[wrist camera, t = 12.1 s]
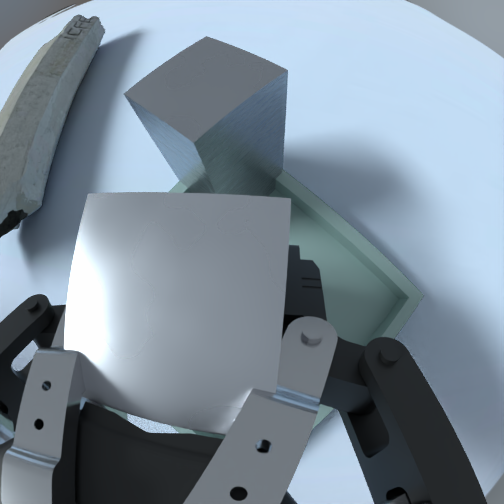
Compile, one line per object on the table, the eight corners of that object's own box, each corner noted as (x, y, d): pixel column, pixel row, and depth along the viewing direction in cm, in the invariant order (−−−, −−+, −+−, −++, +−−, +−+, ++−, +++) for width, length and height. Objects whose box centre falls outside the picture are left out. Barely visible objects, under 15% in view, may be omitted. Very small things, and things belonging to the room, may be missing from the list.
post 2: (268, 357, 14) (269, 439, 4) (185, 347, 14) (64, 389, 4) (275, 274, 15) (290, 198, 5) (194, 267, 15) (88, 193, 5)
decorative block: (113, 41, 25) (93, 4, 17) (50, 267, 18) (-16, 248, 11) (69, 60, 25) (47, 28, 17) (5, 270, 19) (-50, 255, 11)
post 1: (234, 234, 17) (193, 143, 8) (187, 192, 18) (123, 94, 9) (281, 186, 18) (287, 70, 8) (233, 150, 19) (206, 36, 9)
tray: (246, 467, 14) (244, 482, 12) (87, 308, 17) (70, 307, 15) (409, 297, 16) (423, 295, 14) (235, 148, 19) (232, 132, 17)
